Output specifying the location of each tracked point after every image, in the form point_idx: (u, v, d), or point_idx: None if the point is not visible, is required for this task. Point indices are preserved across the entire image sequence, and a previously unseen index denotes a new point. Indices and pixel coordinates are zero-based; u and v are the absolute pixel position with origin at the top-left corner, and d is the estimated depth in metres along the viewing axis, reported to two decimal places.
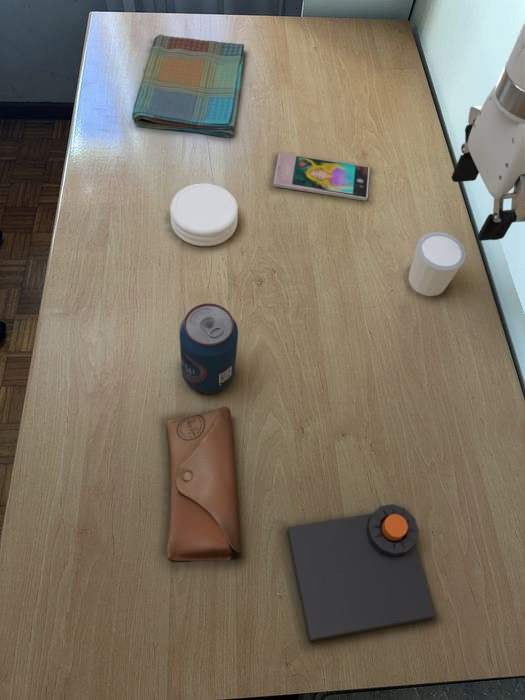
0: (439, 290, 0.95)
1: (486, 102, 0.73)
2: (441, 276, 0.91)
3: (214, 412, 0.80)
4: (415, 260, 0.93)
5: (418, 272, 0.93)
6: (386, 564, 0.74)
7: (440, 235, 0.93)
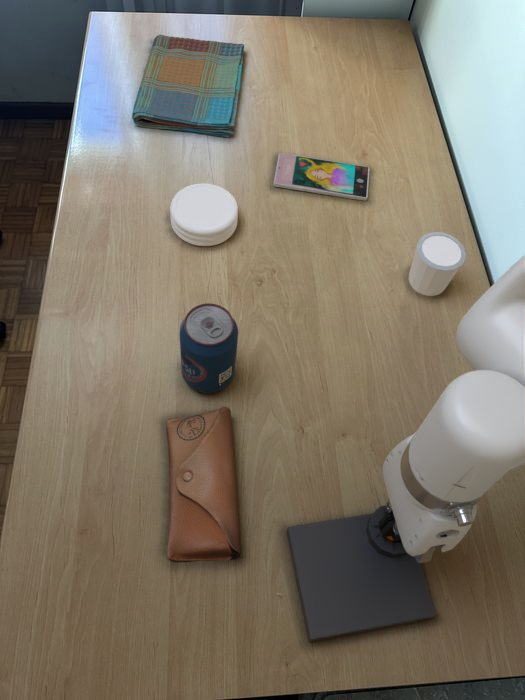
0: (439, 290, 0.95)
1: (396, 450, 0.64)
2: (441, 276, 0.91)
3: (214, 412, 0.80)
4: (415, 260, 0.93)
5: (418, 272, 0.93)
6: (386, 564, 0.74)
7: (440, 235, 0.93)
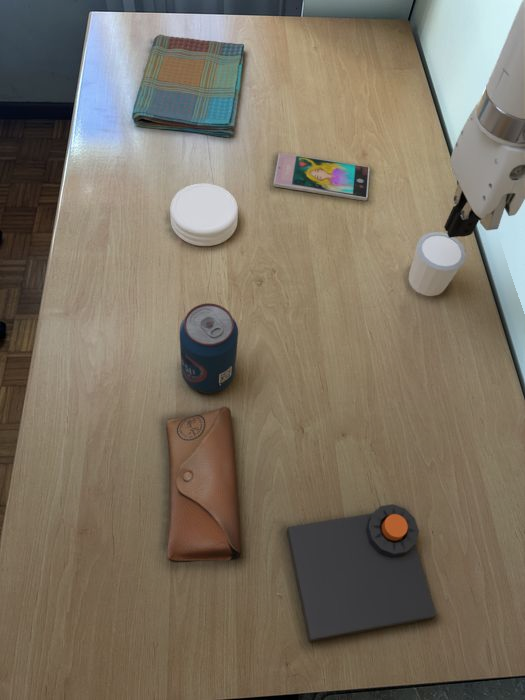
0: (439, 290, 0.95)
1: (468, 122, 0.73)
2: (441, 276, 0.91)
3: (214, 412, 0.80)
4: (415, 260, 0.93)
5: (418, 272, 0.93)
6: (386, 564, 0.74)
7: (440, 235, 0.93)
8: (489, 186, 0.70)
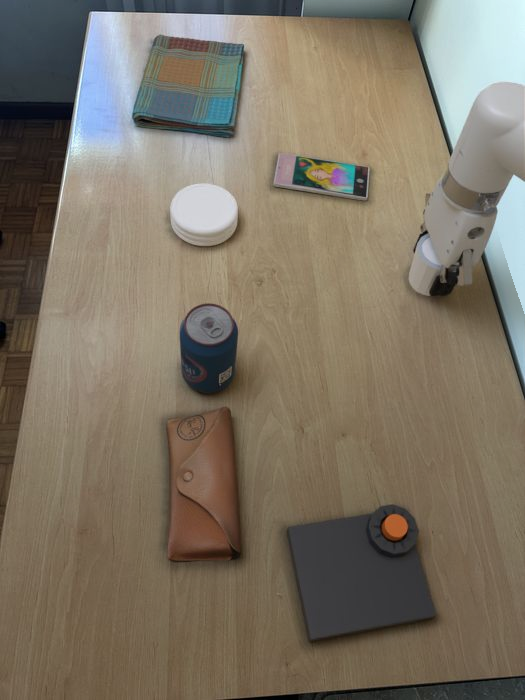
0: None
1: (436, 186, 0.86)
2: None
3: (214, 412, 0.80)
4: (415, 260, 0.93)
5: (418, 272, 0.93)
6: (386, 564, 0.74)
7: None
8: (451, 242, 0.84)
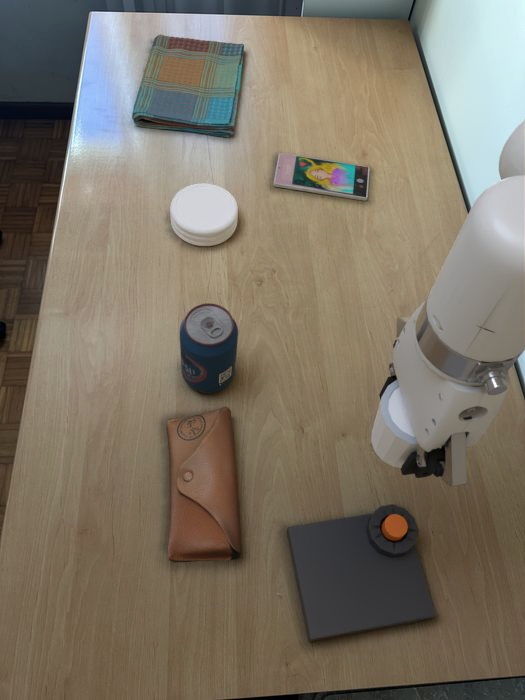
0: None
1: (410, 322, 0.53)
2: None
3: (214, 412, 0.80)
4: (378, 421, 0.60)
5: (384, 439, 0.60)
6: (386, 564, 0.74)
7: None
8: (433, 421, 0.51)
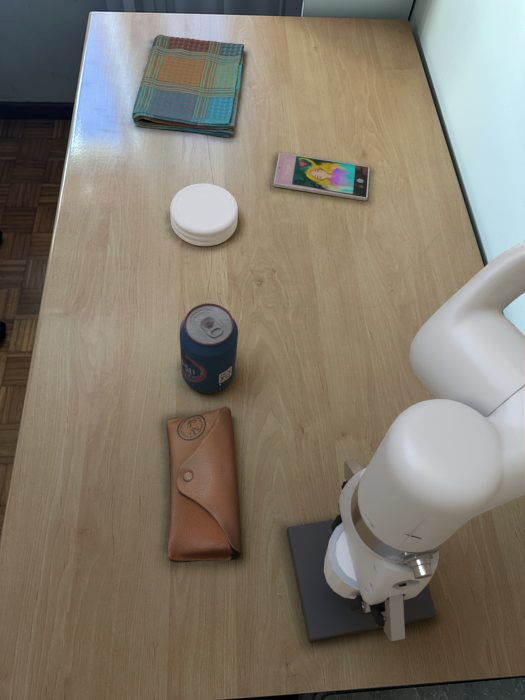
0: None
1: (350, 484, 0.56)
2: None
3: (215, 412, 0.80)
4: (327, 561, 0.62)
5: (333, 577, 0.63)
6: None
7: None
8: (370, 585, 0.53)
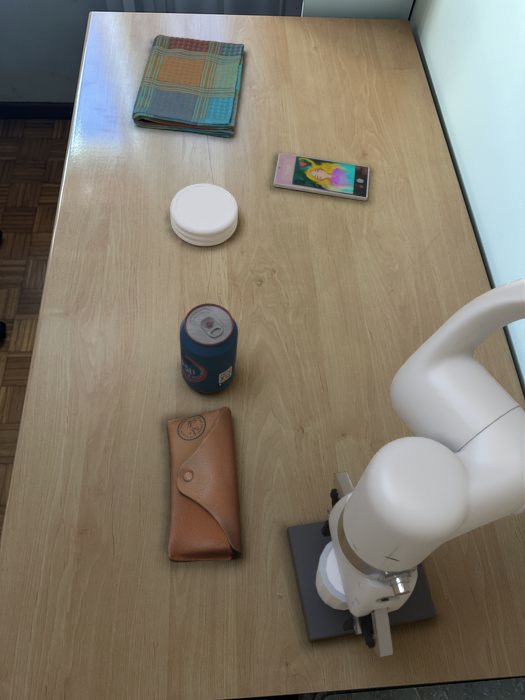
0: None
1: (338, 506, 0.61)
2: None
3: (215, 412, 0.80)
4: (318, 575, 0.68)
5: (323, 591, 0.68)
6: None
7: None
8: (356, 599, 0.58)
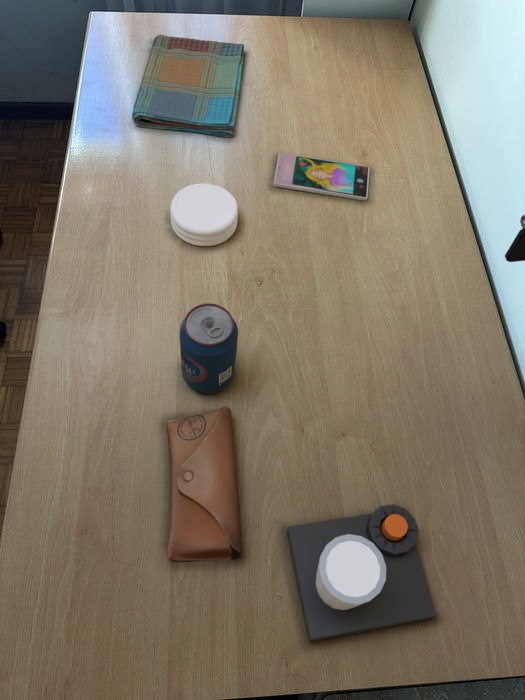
0: None
1: None
2: (352, 605, 0.66)
3: (215, 412, 0.80)
4: (318, 575, 0.68)
5: (323, 591, 0.68)
6: (386, 564, 0.74)
7: (353, 540, 0.68)
8: None
